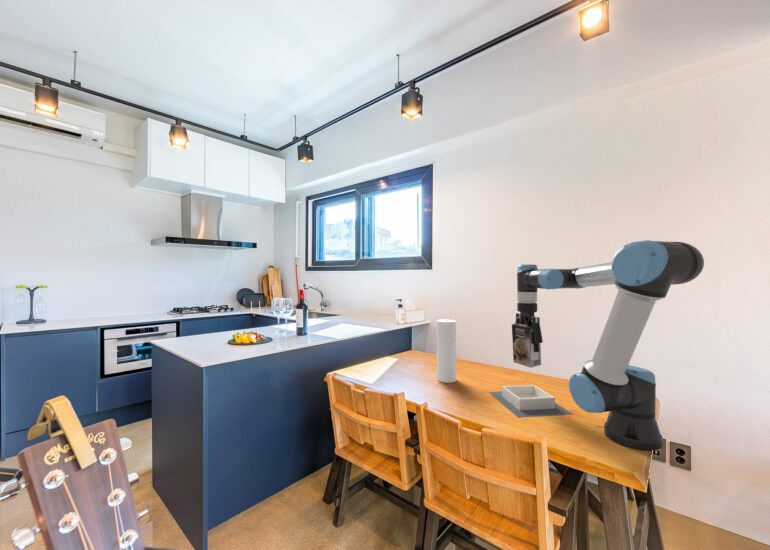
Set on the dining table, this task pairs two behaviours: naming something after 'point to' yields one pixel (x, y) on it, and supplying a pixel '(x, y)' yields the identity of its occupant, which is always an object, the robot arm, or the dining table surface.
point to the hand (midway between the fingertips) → (527, 356)
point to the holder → (528, 397)
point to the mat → (530, 413)
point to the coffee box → (523, 345)
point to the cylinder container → (446, 350)
